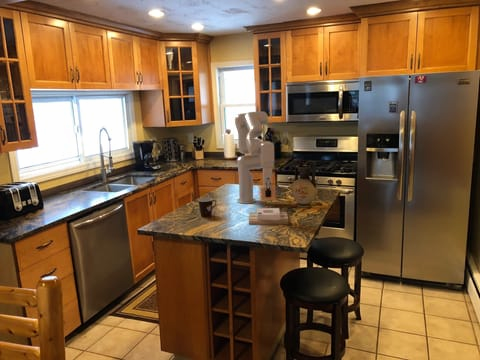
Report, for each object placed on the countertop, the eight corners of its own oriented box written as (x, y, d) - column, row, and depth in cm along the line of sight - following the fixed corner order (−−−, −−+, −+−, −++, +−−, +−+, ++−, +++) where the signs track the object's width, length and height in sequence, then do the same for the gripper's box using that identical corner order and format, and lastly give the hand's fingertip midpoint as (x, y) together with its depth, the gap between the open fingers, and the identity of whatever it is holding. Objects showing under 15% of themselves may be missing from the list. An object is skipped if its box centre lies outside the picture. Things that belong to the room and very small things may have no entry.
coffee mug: (200, 218, 231) (199, 202, 229) (198, 214, 239) (197, 198, 237) (219, 216, 234) (218, 200, 232) (216, 212, 242) (215, 197, 240)
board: (249, 215, 233) (249, 212, 233) (286, 215, 232) (286, 212, 231) (249, 224, 217) (248, 220, 217) (288, 223, 216) (288, 220, 216)
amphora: (322, 204, 255) (322, 158, 249) (311, 210, 241) (311, 162, 235) (297, 200, 264) (297, 157, 258) (286, 206, 251) (285, 160, 245)
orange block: (261, 200, 226) (260, 185, 224) (275, 200, 225) (274, 185, 223) (261, 203, 219) (261, 187, 217) (275, 203, 219) (275, 187, 217)
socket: (257, 213, 231) (257, 207, 230) (279, 213, 230) (279, 207, 230) (256, 219, 218) (256, 213, 217) (280, 219, 218) (280, 213, 217)
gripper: (260, 162, 227) (261, 192, 230) (261, 167, 210) (261, 199, 213) (273, 162, 226) (274, 192, 230) (274, 166, 209) (275, 199, 213)
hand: (268, 195), depth 221 cm, fingers closed on orange block, 6 cm apart
